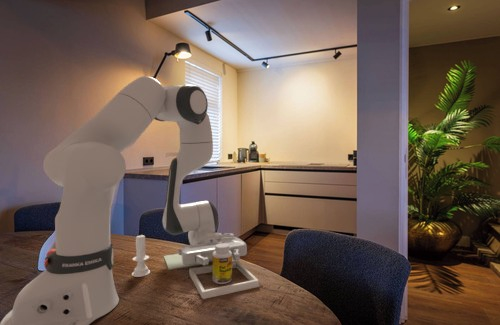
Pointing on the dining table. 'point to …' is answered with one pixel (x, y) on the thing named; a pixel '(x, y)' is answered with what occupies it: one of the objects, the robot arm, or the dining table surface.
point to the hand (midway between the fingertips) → (222, 260)
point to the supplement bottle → (222, 264)
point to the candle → (140, 258)
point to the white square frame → (223, 290)
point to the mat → (176, 262)
